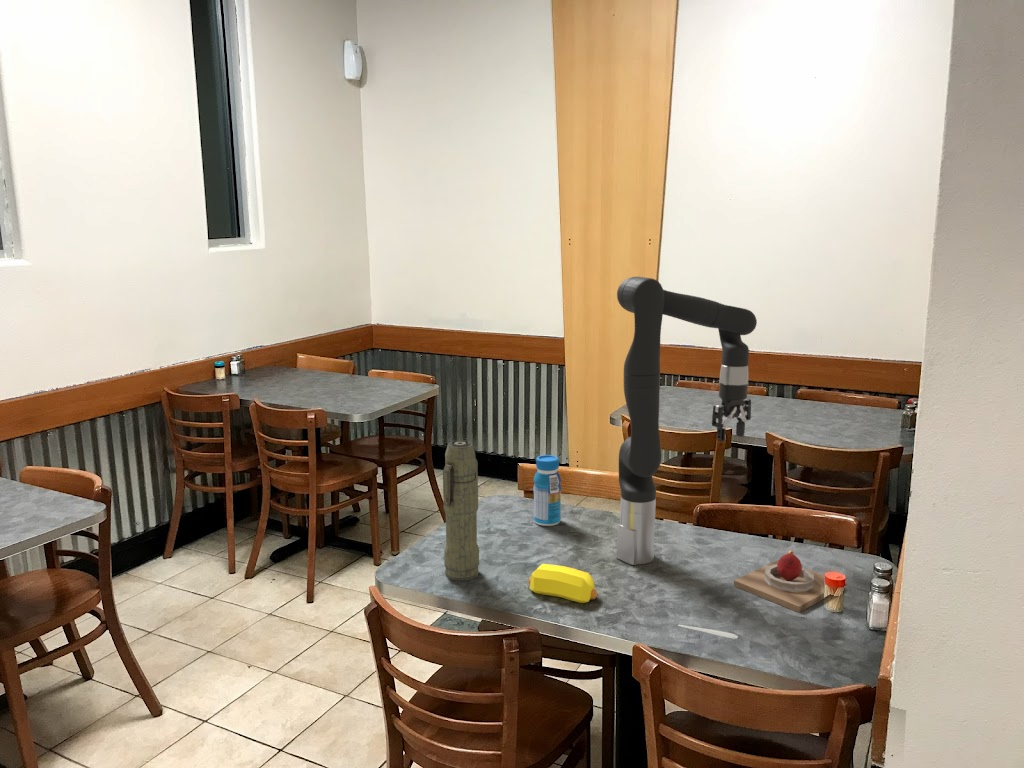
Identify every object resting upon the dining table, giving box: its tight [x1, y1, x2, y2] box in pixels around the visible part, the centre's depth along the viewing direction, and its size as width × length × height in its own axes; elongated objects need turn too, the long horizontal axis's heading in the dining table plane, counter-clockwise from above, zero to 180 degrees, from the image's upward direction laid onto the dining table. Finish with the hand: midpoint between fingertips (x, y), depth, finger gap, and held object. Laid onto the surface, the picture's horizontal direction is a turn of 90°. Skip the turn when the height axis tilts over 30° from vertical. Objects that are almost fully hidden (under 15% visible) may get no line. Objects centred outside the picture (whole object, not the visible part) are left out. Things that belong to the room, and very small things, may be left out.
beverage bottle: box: [532, 454, 562, 527], centre depth 244 cm, size 8×8×20 cm
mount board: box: [733, 559, 825, 614], centre depth 203 cm, size 20×18×4 cm
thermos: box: [442, 439, 480, 582], centre depth 207 cm, size 9×12×35 cm
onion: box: [777, 550, 803, 581], centre depth 202 cm, size 6×6×8 cm
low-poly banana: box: [528, 563, 598, 604], centre depth 199 cm, size 18×7×8 cm
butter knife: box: [677, 624, 739, 640], centre depth 184 cm, size 1×27×3 cm
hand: (730, 438), depth 225 cm, fingers open, 8 cm apart
